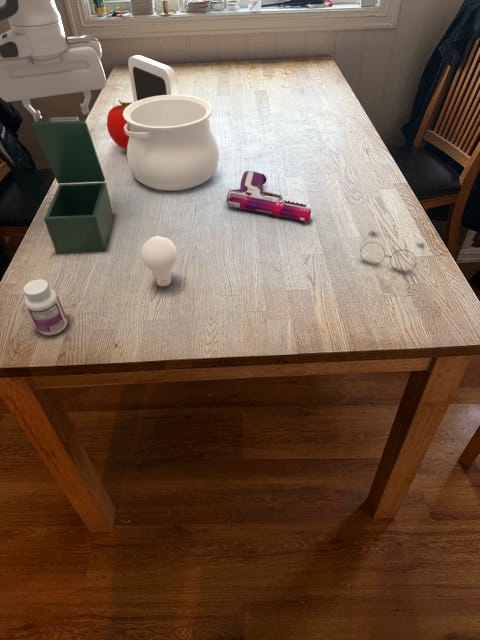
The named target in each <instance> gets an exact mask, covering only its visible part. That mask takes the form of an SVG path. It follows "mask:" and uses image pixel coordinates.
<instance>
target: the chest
mask: <svg viewBox="0 0 480 640" xmlns="http://www.w3.org/2000/svg"><path fill="white" fill-rule="evenodd" d="M113 220H114V211H113V207H112V202H111V198H110V195H109V191H108V186H107V183H106V181H105V182H84V183H62V184H58V186H57V188H56V190H55V193H54V194H53V197H52V199H51V201H50V204H49V206H48V208H47V211H46V213H45V215H44V218H43V222H44V224H45V226H46V229H47V231H48V235H49V237H50V239H51V243H52V245H53V248H54V251H55V253H56V254H73V253H74V254H77V253H92V252H93V253H94V252H95V253H96V252H106V248H107V244H108V240H109V236H110V232H111V227H112V225H113V224H112V223H113Z"/></svg>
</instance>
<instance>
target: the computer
mask: <svg viewBox="0 0 480 640" xmlns="http://www.w3.org/2000/svg"><path fill="white" fill-rule="evenodd" d="M127 60H128V61H127V66H128V72H129V74H128V75H129V79H130V85H131V92H132V98H133V101H134V102H136V101H138V100H141V99H145V98H148V97H153V96H160V95H180V92H179V91H180V90H179V83H178V78H177V75H176V72H175V70H174V69H173V68H172V67H171V66H169V65H166V64H164V63H161V62H158V61H156V60H153V59H151V58H149V57H145V56H143V55H141V54H136V55H132V56H130V57H128V59H127ZM134 102H133V103H134Z"/></svg>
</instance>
